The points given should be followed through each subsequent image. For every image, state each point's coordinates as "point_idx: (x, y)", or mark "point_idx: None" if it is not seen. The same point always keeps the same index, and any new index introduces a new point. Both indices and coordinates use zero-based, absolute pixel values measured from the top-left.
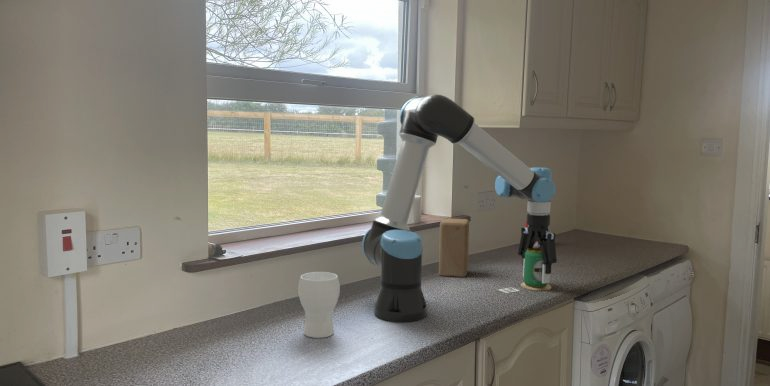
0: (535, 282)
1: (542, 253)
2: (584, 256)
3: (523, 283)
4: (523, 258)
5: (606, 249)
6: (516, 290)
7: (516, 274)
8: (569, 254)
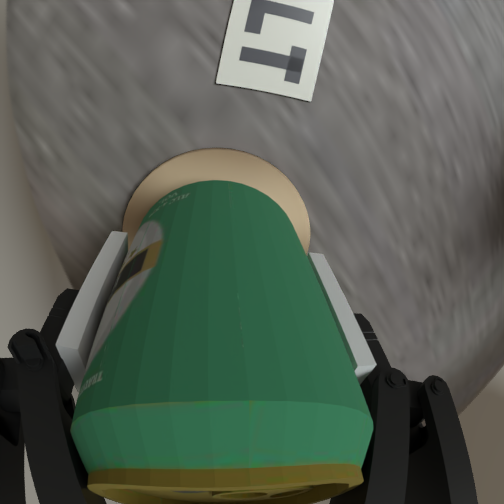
0: (157, 204)
1: (67, 466)
2: None
3: (295, 219)
4: (382, 369)
5: None
6: (236, 65)
7: (404, 326)
8: None
